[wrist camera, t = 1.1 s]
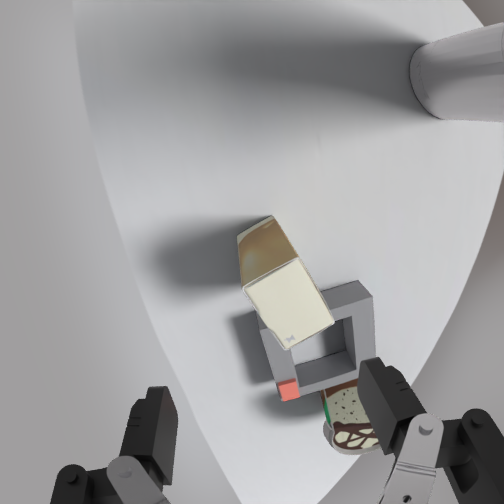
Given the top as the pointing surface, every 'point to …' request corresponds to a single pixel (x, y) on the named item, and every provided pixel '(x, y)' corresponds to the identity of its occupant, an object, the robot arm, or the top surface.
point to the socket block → (333, 366)
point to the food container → (347, 420)
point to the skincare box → (280, 285)
